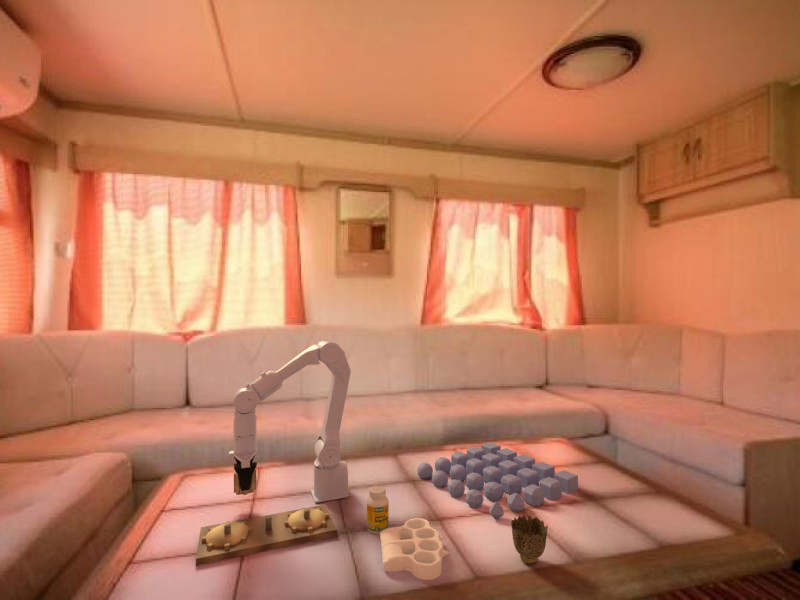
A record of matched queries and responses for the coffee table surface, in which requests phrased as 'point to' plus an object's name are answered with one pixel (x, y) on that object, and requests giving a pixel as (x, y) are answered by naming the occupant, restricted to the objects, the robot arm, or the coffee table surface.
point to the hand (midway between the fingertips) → (245, 485)
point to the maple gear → (237, 485)
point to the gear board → (263, 534)
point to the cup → (529, 538)
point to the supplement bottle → (377, 510)
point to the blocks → (499, 478)
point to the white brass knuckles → (413, 549)
